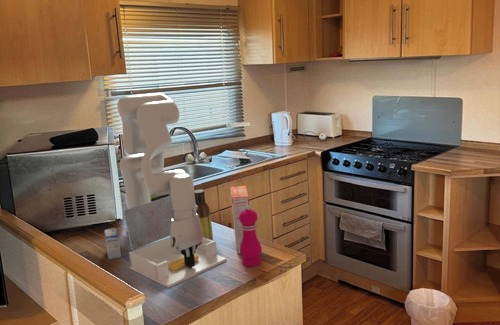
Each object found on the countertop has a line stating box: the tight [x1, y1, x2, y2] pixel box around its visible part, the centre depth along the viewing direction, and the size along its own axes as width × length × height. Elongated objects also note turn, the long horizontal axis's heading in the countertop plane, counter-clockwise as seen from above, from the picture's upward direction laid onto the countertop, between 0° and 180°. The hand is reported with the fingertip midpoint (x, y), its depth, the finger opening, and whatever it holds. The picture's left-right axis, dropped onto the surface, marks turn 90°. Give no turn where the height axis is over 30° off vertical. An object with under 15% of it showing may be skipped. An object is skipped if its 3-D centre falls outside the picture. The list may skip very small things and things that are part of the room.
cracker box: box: [230, 185, 250, 255], centre depth 169 cm, size 14×6×21 cm, turn 4°
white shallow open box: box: [128, 236, 227, 288], centre depth 160 cm, size 22×24×6 cm
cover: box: [123, 195, 173, 251], centre depth 165 cm, size 14×22×1 cm
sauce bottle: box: [194, 189, 214, 241], centre depth 177 cm, size 7×6×20 cm
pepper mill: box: [239, 204, 263, 267], centre depth 156 cm, size 7×7×20 cm
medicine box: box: [103, 227, 122, 260], centre depth 172 cm, size 8×4×9 cm, turn 21°
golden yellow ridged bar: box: [168, 255, 199, 271], centre depth 158 cm, size 4×11×2 cm, turn 135°
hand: (190, 265), depth 155 cm, fingers closed
